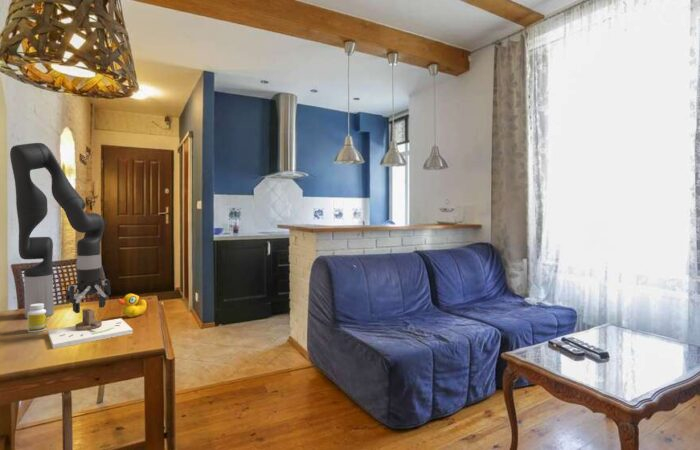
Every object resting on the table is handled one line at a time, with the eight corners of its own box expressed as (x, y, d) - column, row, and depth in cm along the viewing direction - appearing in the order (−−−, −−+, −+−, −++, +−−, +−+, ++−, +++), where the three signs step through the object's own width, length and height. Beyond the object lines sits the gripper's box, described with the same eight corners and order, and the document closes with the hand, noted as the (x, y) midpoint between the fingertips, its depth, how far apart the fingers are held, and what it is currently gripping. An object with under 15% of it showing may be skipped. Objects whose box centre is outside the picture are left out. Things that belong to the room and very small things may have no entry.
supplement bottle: (48, 330, 139) (48, 304, 138) (30, 333, 134) (29, 307, 134) (43, 327, 142) (43, 301, 142) (25, 330, 137) (24, 304, 137)
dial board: (47, 334, 134) (47, 329, 134) (121, 321, 150) (121, 317, 150) (53, 348, 121) (53, 343, 121) (132, 333, 137) (132, 328, 137)
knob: (71, 327, 137) (71, 310, 137) (95, 322, 144) (95, 306, 144) (86, 333, 131) (85, 316, 130) (110, 328, 137) (110, 311, 137)
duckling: (122, 321, 151) (121, 297, 150) (115, 319, 154) (114, 295, 153) (149, 314, 161) (149, 291, 160) (142, 312, 163) (142, 290, 163)
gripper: (73, 270, 130) (74, 316, 130) (114, 265, 142) (115, 306, 143) (61, 268, 133) (62, 313, 134) (102, 263, 146) (103, 304, 147)
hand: (89, 309), depth 139 cm, fingers open, 8 cm apart
